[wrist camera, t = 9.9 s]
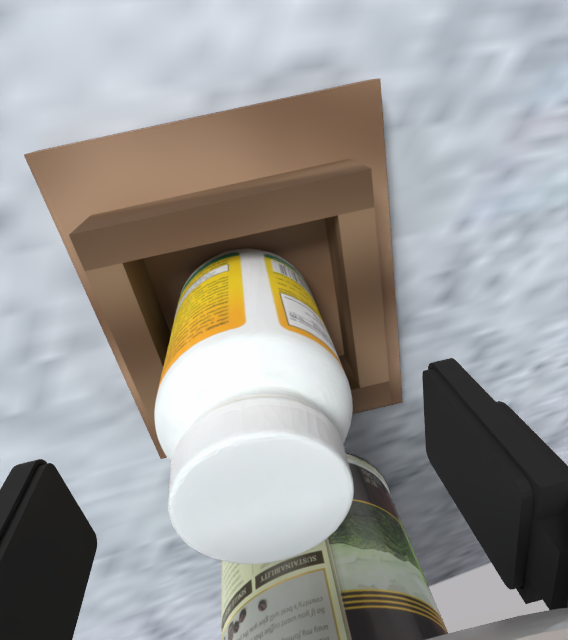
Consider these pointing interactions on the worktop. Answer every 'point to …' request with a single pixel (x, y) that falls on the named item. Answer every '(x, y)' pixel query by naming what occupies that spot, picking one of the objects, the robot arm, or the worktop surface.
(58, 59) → the worktop surface
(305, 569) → the coffee can
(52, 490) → the robot arm
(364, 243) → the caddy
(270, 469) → the supplement bottle
